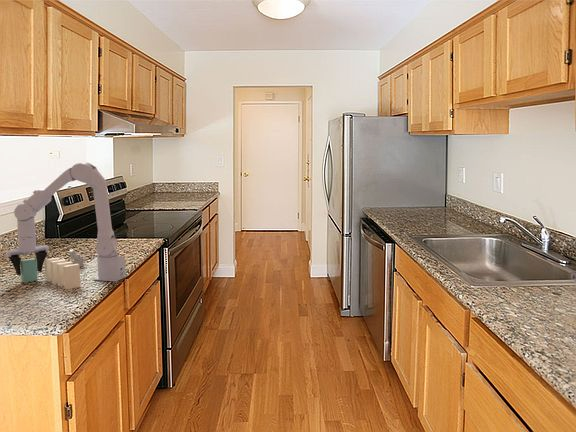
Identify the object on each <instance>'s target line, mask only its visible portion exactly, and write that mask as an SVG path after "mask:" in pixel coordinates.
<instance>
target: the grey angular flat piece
mask: <svg viewBox="0 0 576 432" xmlns="http://www.w3.org/2000/svg"><path fill="white" fill-rule="evenodd" d="M68 253H69V256H70V258H71V260H73V264H79V266H80V268H82V267H84V256H83V255H81V253H76V250H75V249H70V250H69V251H68Z"/></svg>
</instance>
